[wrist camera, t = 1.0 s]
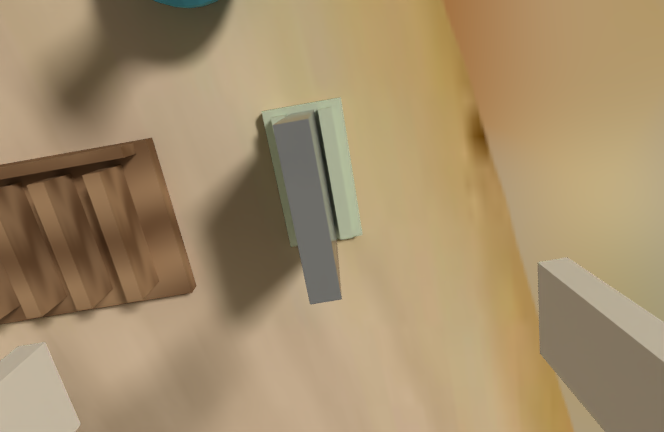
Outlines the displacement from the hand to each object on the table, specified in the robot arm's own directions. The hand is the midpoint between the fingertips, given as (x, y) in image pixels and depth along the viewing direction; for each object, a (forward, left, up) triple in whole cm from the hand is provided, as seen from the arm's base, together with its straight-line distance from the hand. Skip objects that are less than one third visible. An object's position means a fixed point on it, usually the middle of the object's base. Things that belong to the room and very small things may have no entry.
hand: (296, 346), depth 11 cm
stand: (0, 0, -23) cm, 23 cm away
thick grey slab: (0, 0, -22) cm, 22 cm away
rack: (+1, -21, -23) cm, 31 cm away
